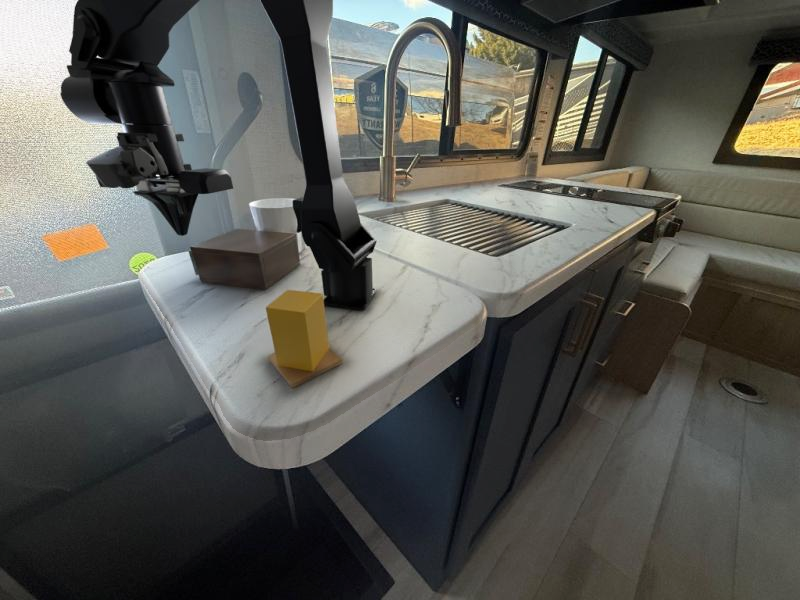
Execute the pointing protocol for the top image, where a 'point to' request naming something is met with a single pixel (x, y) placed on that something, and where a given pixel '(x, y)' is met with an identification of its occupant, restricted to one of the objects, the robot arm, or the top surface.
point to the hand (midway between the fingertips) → (182, 235)
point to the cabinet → (246, 258)
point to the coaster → (301, 376)
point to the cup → (276, 217)
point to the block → (298, 329)
